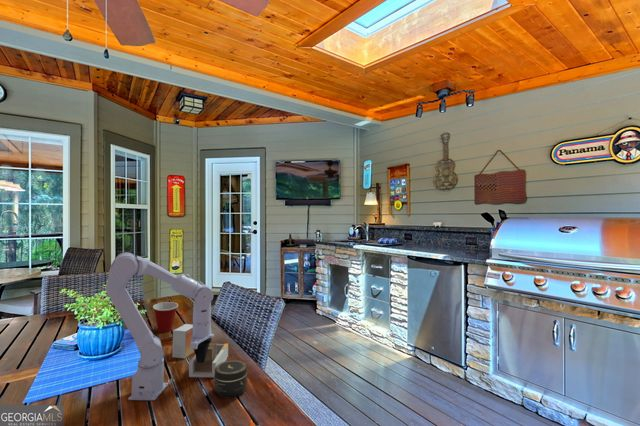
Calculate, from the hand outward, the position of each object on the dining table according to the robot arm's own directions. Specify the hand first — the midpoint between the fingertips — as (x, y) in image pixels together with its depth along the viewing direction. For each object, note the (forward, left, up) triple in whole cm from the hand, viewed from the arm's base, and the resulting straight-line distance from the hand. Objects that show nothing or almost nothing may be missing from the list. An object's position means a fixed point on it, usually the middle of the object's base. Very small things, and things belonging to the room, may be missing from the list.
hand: (201, 361), depth 111 cm
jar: (-7, -12, -6) cm, 15 cm away
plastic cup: (+45, +32, -6) cm, 55 cm away
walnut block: (+6, 0, -5) cm, 7 cm away
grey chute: (+10, 0, -6) cm, 11 cm away
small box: (+20, +13, -6) cm, 24 cm away
